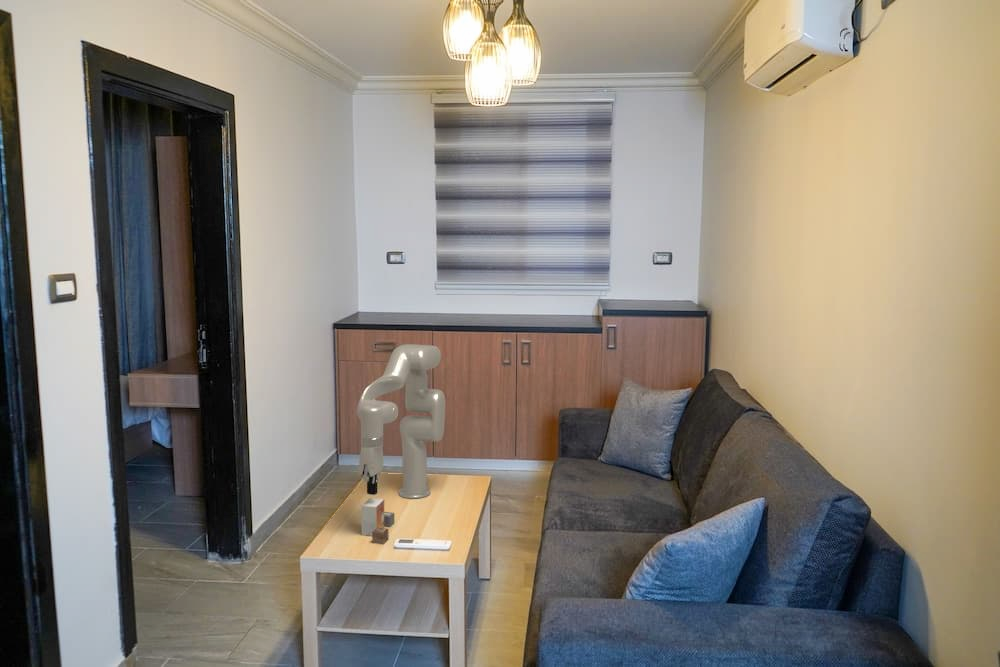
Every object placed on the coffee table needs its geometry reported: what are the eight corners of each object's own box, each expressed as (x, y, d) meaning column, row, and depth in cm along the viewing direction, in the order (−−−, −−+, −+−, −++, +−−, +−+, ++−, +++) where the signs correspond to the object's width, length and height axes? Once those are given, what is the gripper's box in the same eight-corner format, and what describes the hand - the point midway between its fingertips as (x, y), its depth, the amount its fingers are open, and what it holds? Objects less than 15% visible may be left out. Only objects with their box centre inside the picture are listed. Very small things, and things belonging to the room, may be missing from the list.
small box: (376, 536, 254) (376, 507, 253) (361, 535, 256) (360, 505, 254) (384, 527, 262) (384, 499, 261) (369, 526, 263) (369, 497, 262)
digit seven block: (377, 538, 253) (377, 526, 252) (388, 540, 252) (388, 528, 251) (372, 543, 249) (372, 531, 249) (383, 544, 248) (383, 532, 248)
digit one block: (384, 522, 267) (384, 511, 267) (394, 523, 266) (394, 512, 266) (379, 526, 264) (379, 515, 263) (389, 527, 263) (389, 516, 262)
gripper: (371, 435, 263) (371, 486, 265) (351, 446, 248) (352, 499, 250) (391, 437, 261) (391, 488, 263) (372, 447, 246) (372, 501, 248)
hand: (372, 493), depth 257 cm, fingers closed
